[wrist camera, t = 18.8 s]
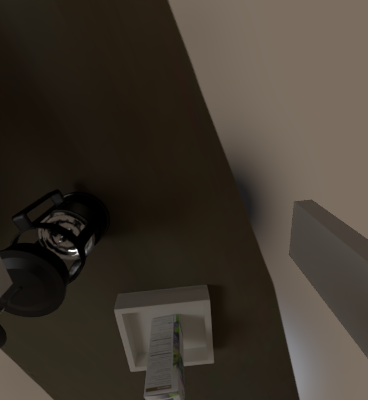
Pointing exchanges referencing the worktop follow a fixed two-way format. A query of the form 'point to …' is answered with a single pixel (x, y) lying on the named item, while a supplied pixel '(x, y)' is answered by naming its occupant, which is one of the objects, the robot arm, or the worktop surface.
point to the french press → (49, 254)
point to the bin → (160, 307)
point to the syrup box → (165, 360)
